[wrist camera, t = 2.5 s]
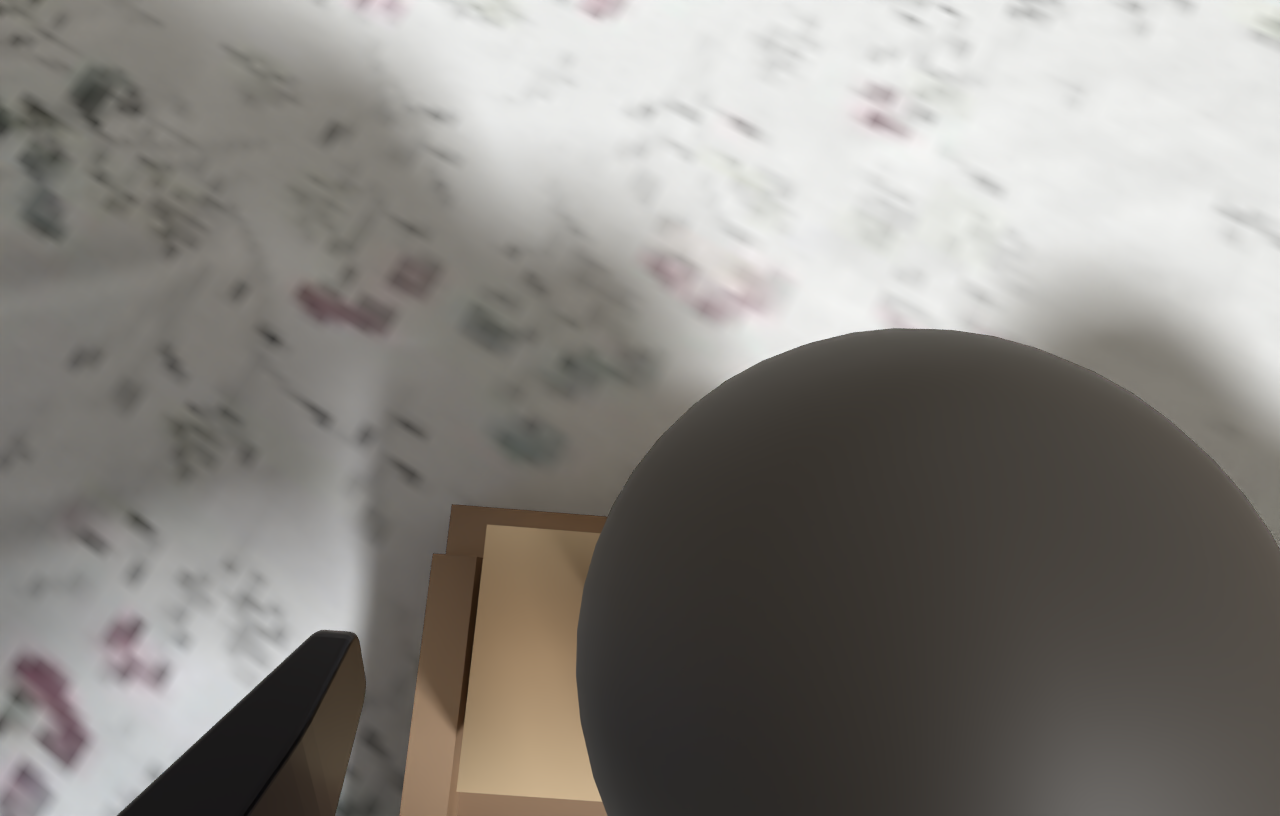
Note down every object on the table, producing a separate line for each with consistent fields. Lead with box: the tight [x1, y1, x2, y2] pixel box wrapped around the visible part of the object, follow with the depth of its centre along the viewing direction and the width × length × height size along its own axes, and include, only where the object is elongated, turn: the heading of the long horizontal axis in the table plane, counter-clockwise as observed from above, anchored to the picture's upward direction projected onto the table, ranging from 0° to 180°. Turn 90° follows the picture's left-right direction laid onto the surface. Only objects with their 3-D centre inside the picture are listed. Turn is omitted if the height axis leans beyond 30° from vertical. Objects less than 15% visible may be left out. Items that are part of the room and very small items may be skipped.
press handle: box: [456, 328, 1280, 816], centre depth 9 cm, size 5×8×13 cm, turn 86°
